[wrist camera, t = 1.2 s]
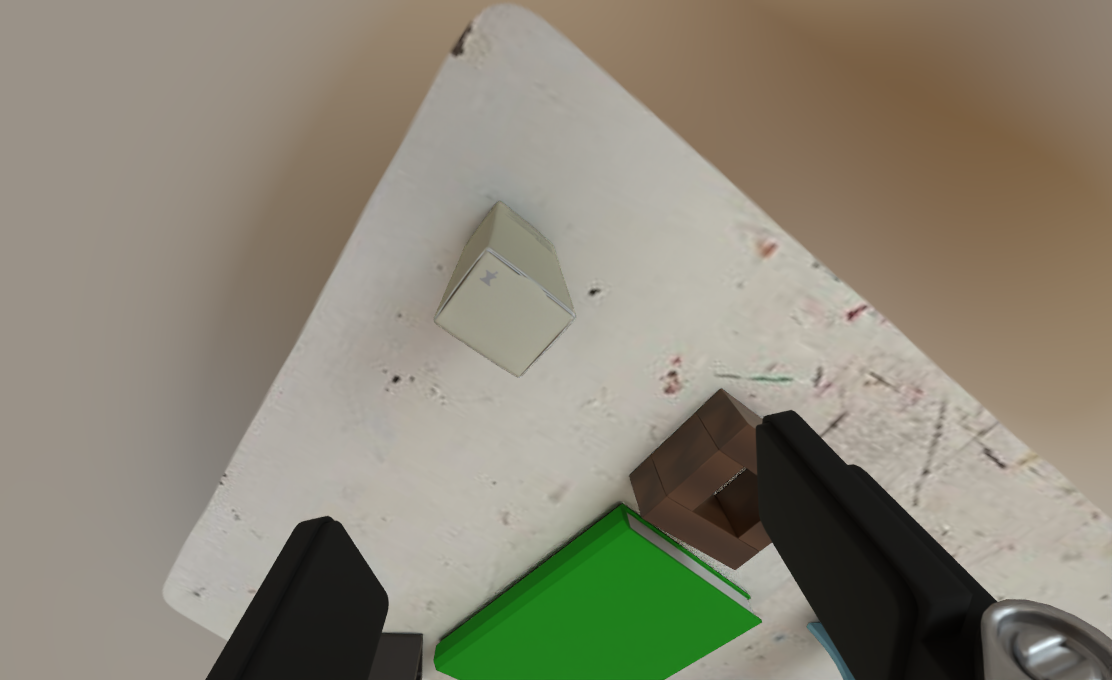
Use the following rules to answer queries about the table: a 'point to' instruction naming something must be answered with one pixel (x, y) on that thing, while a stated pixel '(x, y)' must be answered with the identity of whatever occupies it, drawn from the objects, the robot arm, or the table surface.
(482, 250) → the box
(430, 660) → the table surface
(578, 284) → the table surface
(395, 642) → the phone stand
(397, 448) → the table surface
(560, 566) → the book
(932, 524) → the table surface
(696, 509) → the brown frame
